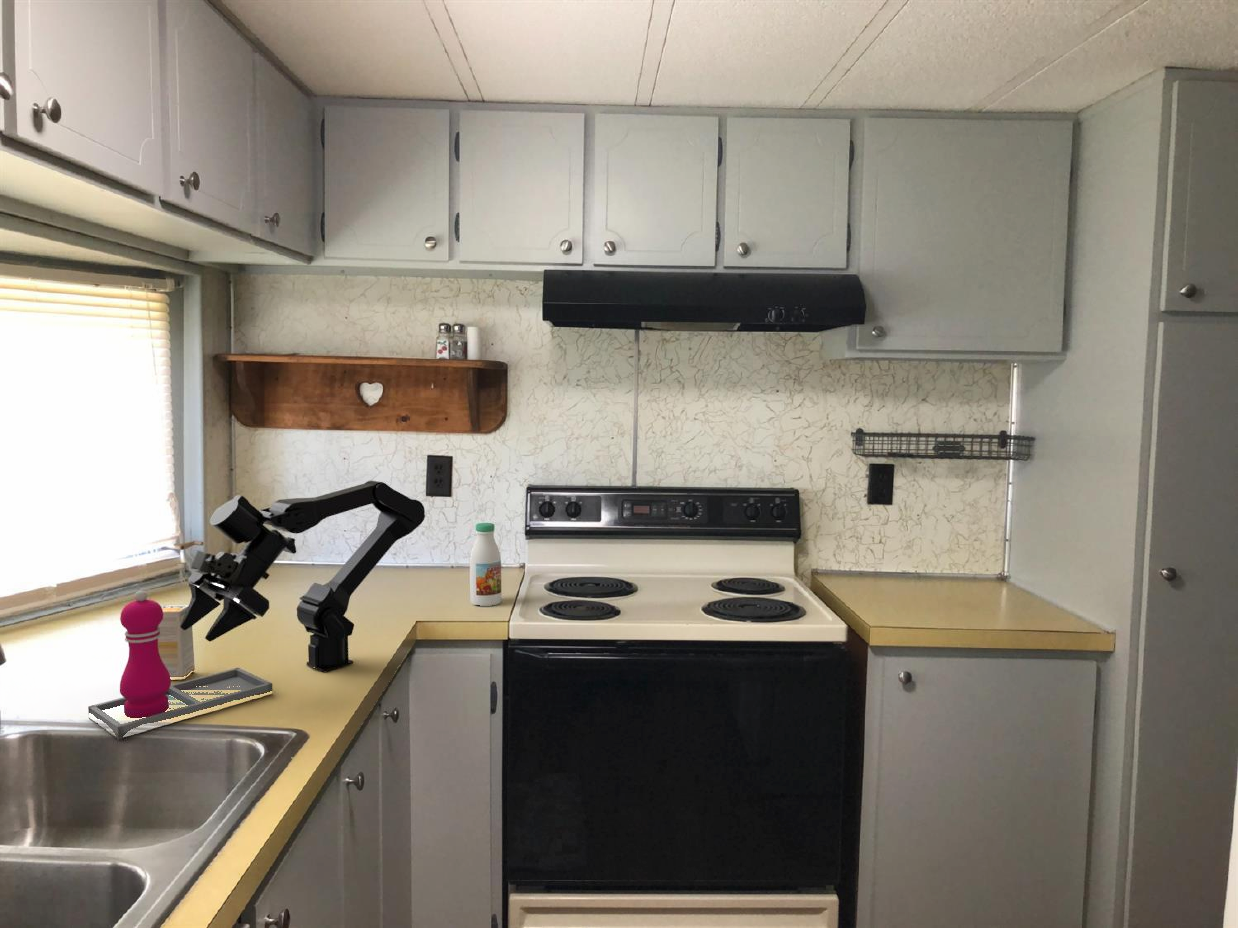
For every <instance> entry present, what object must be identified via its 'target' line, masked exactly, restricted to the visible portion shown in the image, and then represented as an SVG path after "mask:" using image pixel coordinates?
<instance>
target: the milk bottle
mask: <svg viewBox="0 0 1238 928" xmlns="http://www.w3.org/2000/svg"><path fill="white" fill-rule="evenodd" d="M475 533H476V537H475V541H474V545H473V546H472V549H471V552H470V555H469V556H470V557H469V598H470V599H469V600H470V601H469V602H470V604H471V603H472V604H473V606H475V605H480V606H479V607H492V605H493V606H496V605H499V604H501V603H502V559H501V552H500V549H499V547H498V545H497V543H496V541H495V535H494V534H495V524H494V522H493V523H492V522H480V523H476V524H475ZM472 604H471V605H472Z"/></svg>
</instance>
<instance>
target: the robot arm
mask: <svg viewBox="0 0 1238 928" xmlns="http://www.w3.org/2000/svg"><path fill="white" fill-rule="evenodd" d="M369 505H372V506H374V508H375V509H376V510H377V511H379V514H378V519H377V522H376V526H375V528H374V529H373V531H372V532H371V533H370V534H369V535H368V536H367V537H366V539H365V540H364V541H363V542H362V543H361V544H360V546H359V547H358V548H357V549H356V550H355V551H354V553H353V554H352V555H350V557H349V559H348V560H346V562H345V563H344V564H343V565H342V566H341V568H340V569H339V570H338V571H337V573H336V574H335V575H334V576H333V577H332V578H331V580H329V581H328V582H326V583H325V584H321V583H317V582H313V584H312V585H311V586H310V587H309V589H308V590H307V592H305V594H303V596H301V597H299V600H300V602H299V603H298V605H297V608H296V617H297V620H298V622H299V623H300V624H301V625H303V627H304V628H305V631H306V633H310V634H311V635H310V636H309V644H308V645H307V647H308V648H307V649H308V650H307V651H308V652H307V653H308V655H307V657H308V661H307V662H306V666H308V665H309V667H310V666H311V668H313V667H315V668H317V669H319V670H318V671H320V670H321V671H320V672H322V671H326V672H329V671H332V670H331V669H333V670H336V669H339V668H338V667H340V668H342V667H346V666H350V665H353V664H354V660H351V659H350V658H349V637H350V636H352V634H353V631H354V627H355V624H354V623H353V622H352V621H351V620H350V619H349V618H347V617H346V616H345V615H346V613H347V611H348V607H349V604H350V599H351V597H352V595H353V593H354V592H355V591H356V590H357V589H358V587H359V586H360V585H361V584H362V583H363V582H364V581H365V579H366V578H367V577H368V576H369V574H370V572H371V571H373V569H374V568H375V567H376V566H377V564H378V563H380V561H381V560H382V559H383V557H384V556H385V555H386V553H387V552H388V551H389V550H390V549H391V548H392V546H393V545H394V544H395V543H396V542H397V541H399V540H400V539H402V538H404V537H406V536H407V535H410V534H411V533H412V532H414V531H415V530H416V529H417V528H418V527H420V526H421V524H422V523H423V522H424V521H425V518H426V514H425V506H424V505H423V503H422V502H421V501H420V500H418V499H414V498H410V497H409V496H407V495H405V494H402V492H399V491H398V490H395V489H394V488H393V487H391V486H389V485H388V484H387V483H386V482H383V481H376V480H368V481H366V482H365V483H361V484H358V485H354V486H351V487H347V488H343V489H341V490H337V491H333V492H329V493H326V494H322V495H320V496H316V497H315V496H314V497H299V498H298V497H294V498H293V497H292V498H285V499H284V498H282V499H278V500H276V501H274V502H273V503H272V504H271V506H270V507H266V508H263V509H260V510H259V509H257V508H256V507H254V505H252V504H251V503H250V501H249V500H248V499H247V498H246V497H245V496H244V495H239V494H236V495H235V496H234V497H233V498H232V499H230V500H227V501H226V502H225V503H223V504H222V505H221V506H218V507H217V508H216V509H215V510H214V512H213V513H212V515H211V517H210V519H209V523H210V525H212V526H213V527H214V528H215V529H216V530H218V531H219V532H220V533H222V534H223V535H224V536H225V537H227V538H228V539H230V541H232V542H233V543H234V544H235V545H238V544H242V543H245V545H244V546H243V547H242V548H241V550H240V551H239V552H238V553H235V552H231V553H228V552H226V551H225V552H224V551H219V552H218V553H217V554H212V553H208V552H205V551H201V550H197V551H196V553H195V556H194V558H193V561H192V562H191V564H190V565H191V566H190V568H191V569H192V570H193V569H194V570H195V571H193V572H192V574H191V575H190V576H189V577H188V578H187V581H188V582H189V583H188V587H189V589H190V593H191V598H190V601H189V604H188V605H189V606H188V609H187V611H186V613H185V616H184V618H183V621H182V623H181V625H180V628H182V629H183V630H187V629H188V628H190V627H191V626H192V627H193V626H194V625H195V624H197V623H198V622H200V621H201V619H203V618H204V617H206V616H207V615H209V614H210V613H211V612H212V611H213V610H215V609H216V608H218V607H219V606H221V601H222V602H223V603H222V604H223V606H222V607H223V608H222V610H221V612H220V613H219V614H218V616H217V618H216V619H215V620H214V622H213V624H212V625H211V627H210V628H209V629H208V632H207V634H206V635H205V637H204V638H205V640H206V641H208V642H213V641H215V640H216V639H218V638H220V637H221V636H224V635H225V634H227V633H229V632H231V631H232V630H233V629H236V628H238V627H240V626H242V625H244V624H246V623H248V622H249V621H252V620H257V618H258V617H261V618H263V617H264V616H265V614H266V613H267V612H268V611H269V609H270V600H269V599H268V598H266V597H265V596H264V595H262V594H261V593H259V592H258V591H257V590H256V589H254V588H255V587H256V585H257V584H258V583H260V581H261V579H263V580H267V579H268V578H269V577H270V574H269V572H268V570H270V568H271V566H273V564H274V563H275V561H276V560H277V559H278V558H279V556H281V554H282V552H286V553H289V554H293V555H294V554H297V547H296V543H295V542H296V539H295V538H293V537H285V535H283V534H282V533H281V532H280V531H282V532H286V533H291V534H295V535H296V534H302V533H304V532H307V531H308V530H310V529H312V528H313V527H315V526H318V524H320V523H321V522H322V521H324V520H325V519H327V518H329V517H332V516H336V515H339V514H342V513H346V512H349V511H352V510H355V509H358V508H362V507H365V506H369ZM266 525H267V526H271V527H273V529H269V528H267V527H266ZM257 616H258V617H257ZM315 668H314V669H315ZM335 668H336V669H335ZM317 669H316V670H317ZM328 670H329V671H328Z"/></svg>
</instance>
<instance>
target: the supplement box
mask: <svg viewBox="0 0 1238 928" xmlns="http://www.w3.org/2000/svg"><path fill="white" fill-rule="evenodd" d="M159 605H160V604H159ZM160 606H161V607H162V610H163V620H162V621H161V623H160V624H159V625H158V627H159V628H160V629H161V630H160V634H161V636H160V637H159V638H158V650H159V654H160V657H161V659H162V661H163V663H164V665H165V666H166V668H167V670H168V672H169V674H170V677H184V676H187V675H188V674H189V673H190V672H191V671H194V670H195V671H196V666H195V651H194V650H195V649H194V633H193V626H191V627H190V628H188V629H187V630H183V629H182V628H180V625H181V623H182V621H183V618H184V616H185V613H186V611H187V609H188V606H189V604H174V605H173V604H172V605H171V604H169V605H167V604H166V605H165V604H163V605H162V604H161V605H160Z"/></svg>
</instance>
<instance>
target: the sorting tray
mask: <svg viewBox="0 0 1238 928" xmlns="http://www.w3.org/2000/svg"><path fill="white" fill-rule="evenodd" d="M196 686H197V687H196ZM199 686H201V687H199ZM203 686H206V687H203ZM207 686H208V687H207ZM229 686H230V688H229ZM233 686H234V687H233ZM237 686H238V687H237ZM239 686H240V687H239ZM227 687H228V688H227ZM181 690H241V691H238V692H234V693H230V694H228V693H226V694H225V693H222V694H221V692H222V691H221V692H219V691H217V692H215V691H214V693H215V694H214V693H209V694H208V692H206V693H204V692H202V693H200V692H198V693H196V692H195V693H194V692H193V693H194V694H192V692H191V694H192V695H224V696H220V697H216V698H213V699H209V700H208V699H207V700H206V699H205V700H206V701H202V702H200V701H198V700H196V699H195V698H193V697H191V696H189V695H191V694H189V693H190V692H189V693H188V692H186V693H185V692H184V691H183V692H182V691H181ZM273 690H274V689H273V683H272V682H270V681H268V680H266V679H264V678H262V677H259V676H258V675H255V674H253V673H251V672H249V671H246V670H244V669H242V668H240V667H235V668H231V669H227V670H223V671H219V672H216V673H215V672H214V673H211V674H209V675H204V676H201V677H200V676H199V677H196V678H192V679H189V680H185V681H184V680H183V681H181V682H177V683H174V684H171V686H170V688H169V689H168V691H167V692H166V693H165V694H164V695H166V696H168V700H176V699H177V700H180V701H182V702H183V703H185V704H186V705H188V706H185V707H181V708H180V707H179V708H177V709H174V708H173V709H174V710H170V711H167V712H163V713H160V714H156V715H153V716H149V717H146V718H142V719H139V720H135V721H132V722H128V723H124V724H120V723H119V722H118V721H116V720H115V719H113V718H112V717H110V716H109V715H107V714H106V713H105V712H103V711H102V710H105V709H110V708H113V707H117V706H120V705H124V704H125V702H127V701H128V700H127V699H125V698H124V697H123V696H122V697H119V698H116V699H111V700H108V701H105V702H100V703H95V704H92V705H88V707H87V708H88V714H89V713H91V714H93V715H94V716H95V717H96V718H97V719H100V720H102V721H103V722H104V723H106V724H107V725H108V726H109V727H110V728H111V729H112V730H113V732H114V733H115V735H116V738H115V739H116V740H118V741H119V740H123V736H124V735H125V734H126V733H127V732H128V731H130V730H131V729H133V728H136V727H138V726H140V725H142V724H147V723H154V722H158V721H162V720H166V719H171V718H174V717H178V716H181V715H185V714H190V713H193V712H196V711H199V710H203V709H207V708H211V707H214V706H217V705H222V704H224V703H227V702H231V701H233V700H240V699H243V698H246V697H250V696H254V695H260V694H264V693H267V692H270V691H273ZM218 692H219V693H218ZM169 695H171V696H173V697H174V698H173V697H171V696H169ZM175 698H176V699H175ZM201 700H204V698H203V699H201ZM169 702H170V701H169ZM183 703H181V702H179V703H177V702H176V704H175V703H173V702H172V704H171V702H170V703H169V705H185V704H183ZM168 708H169V707H168ZM169 709H171V708H169Z"/></svg>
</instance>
